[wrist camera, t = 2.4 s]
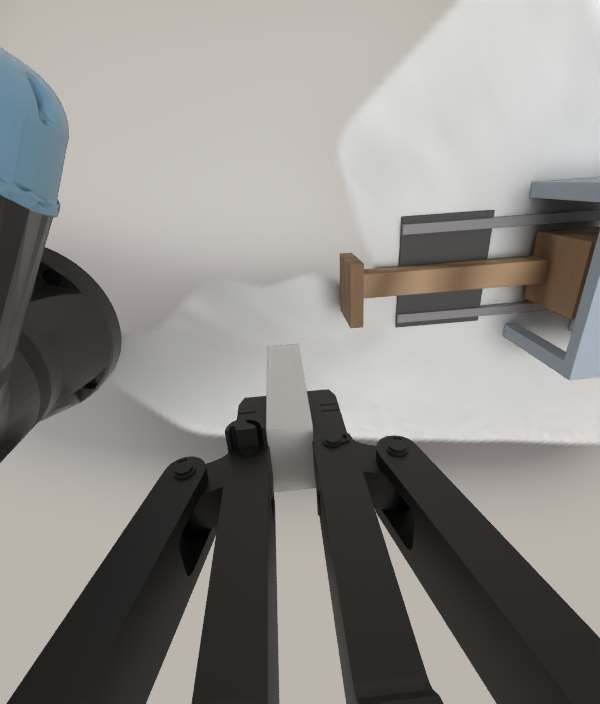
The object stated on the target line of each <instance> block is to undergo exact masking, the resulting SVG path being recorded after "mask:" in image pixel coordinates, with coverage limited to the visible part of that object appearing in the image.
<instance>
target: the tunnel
mask: <svg viewBox="0 0 600 704" xmlns="http://www.w3.org/2000/svg"><path fill="white" fill-rule="evenodd" d="M529 197H530V198H545V199H559V200H573V201H588V202H600V177H595V178H581V179H566V180H552V181H538V182H532V186H531V191H530V196H529ZM592 220H600V209H598V210H585V211H571V212H558V213H544V214H531V215H518V216H504V217H494V218H481V219H468V220H455V221H441V222H428V223H414V224H402V233H401V234H402V235H407V234H421V233H434V232H447V231H460V230H473V229H487V228H500V227H513V226H526V225H540V224H553V223H566V222H579V221H592ZM543 310H549V309H546V308H544V307H542V306H540V305H538V304H536V303H534V302H531V301H530V302H518V303H506V304H495V305H483V306H480V307H468V308H456V309H444V310H433V311H421V312H409V313H396V314H397V322H398V323H403V322H415V321H426V320H438V319H450V318H461V317H473V316H485V315H496V314H508V313H519V312H531V311H543ZM569 331H571V332H572V333H571V336H570V340H569V344H568V347H567V351H566V352H565V351H563V350H561V349H560V348H558V347H556V346H554V345H553V344H551V343H549V342H548V341H546V340H544V339H542V338H541V337H539V336H537V335H536V334H534V333H532V332H530V331H529V330H527V329H525V328H524V327H522V326H520V325H518V324H507V325H505V328H504V333H503V336H504V337H505V338H507V339H508V340H510V341H511V342H513V343H514V344H516V345H517V346H519V347H520V348H522V349H523V350H525V351H526V352H528V353H529V354H531V355H532V356H534V357H535V358H537V359H538V360H540V361H541V362H543V363H544V364H546V365H547V366H549V367H550V368H552V369H553V370H555V371H556V372H558V373H559V374H561V375H562V376H564V377H565V378H567V379H568V380H577V379H587V378H598V377H600V231H599V235H598V239H597V242H596V246H595V250H594V253H593V257H592V260H591V264H590V268H589V271H588V275H587V278H586V282H585V286H584V289H583V293H582V297H581V300H580V304H579V307H578V311H577V315H576V318H575V320H571V322H570V326H569Z"/></svg>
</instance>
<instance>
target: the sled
mask: <svg viewBox="0 0 600 704" xmlns="http://www.w3.org/2000/svg"><path fill="white" fill-rule="evenodd" d="M599 231H600V227H591V228H578V229H565V230H552V231H538V232H537V236H536V241H535V246H534V251H533V255H532V256H529V257H516V258H503V259H491V260H478V261H466V262H453V263H440V264H428V265H415V266H403V267H390V268H378V269H365V270H364V264H363V263H362V262H361V261H360V260H359V259H358V258H357V257H356V256H354V255H353V254H352V253H344V254H340V300H341V312H342V313H343V315H344V317H345V319H346V321H347V322H348V324H349V326H350V328H359V327H363V298H374V297H386V296H398V295H410V294H422V293H434V292H446V291H458V290H470V289H482V288H494V287H507V286H519V285H526V289H525V294H524V298H525V299H527V300H529V301H531V302H534V303H536V304H538V305H540V306H542V307H544V308H546V309H549V310H551V311H553V312H555V313H557V314H559V315H561V316H564V317H566V318H568V319H570V320H575V318H576V315H577V311H578V307H579V304H580V300H581V297H582V293H583V289H584V286H585V282H586V278H587V275H588V271H589V268H590V264H591V260H592V257H593V253H594V250H595V246H596V242H597V239H598V235H599Z"/></svg>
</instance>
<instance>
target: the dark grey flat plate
mask: <svg viewBox="0 0 600 704" xmlns="http://www.w3.org/2000/svg"><path fill="white" fill-rule="evenodd" d="M494 212H495V210H486V211H473V212H459V213H445V214H432V215H418V216H405V217H402V219H401V233H402V224H414V223H428V222H441V221H455V220H468V219H481V218H494ZM491 231H492V228H487V229H473V230H460V231H447V232H434V233H421V234H407V235H402V234H401V238H400V256H399V267H403V266H415V265H428V264H440V263H453V262H466V261H478V260H487V257H488V250H489V244H490V237H491ZM482 289H483V288H482ZM482 289H470V290H458V291H446V292H434V293H422V294H410V295H398V296H397V312H396V313H409V312H421V311H433V310H444V309H456V308H468V307H480V302H481V295H482ZM475 320H478V316H473V317H461V318H450V319H438V320H426V321H415V322H403V323H398V322H397V314H396V327H406V326H418V325H429V324H441V323H452V322H464V321H475Z"/></svg>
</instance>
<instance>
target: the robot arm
mask: <svg viewBox="0 0 600 704" xmlns="http://www.w3.org/2000/svg"><path fill="white" fill-rule="evenodd" d="M68 138H69V129H68V121H67V117H66V114H65V111H64V109H63V106H62V104H61V102H60V100H59V99H58V97H57V96H56V94H55V92H54V91H53V90H52V88H51V87H50V86H49V85H48V84H47V83H46V82H45V81H44V80H43V79H42V78H41V76H40V75H38V74H37V73H36V72H35V71H33V70H32V69H31V68H30V67H28V66H27V65H25V64H24V63H23V62H21V61H20V60H18V59H17V58H15V57H14V56H13V55H11V54H10V53H8V52H7V51H5V50H4V49H2V48H1V47H0V462H1V461H2V460H3V459H4V458H5V457H6V456H7V455H8V454H9V453H10V452H11V451H12V449H14V447H15V446H16V445H17V444H18V443H19V442H20V441H21V440H22V439H23V438H24V437H25V436H26V435H27V433H28V432H29V431H30V430H31V429H32V428H33V427H34V426H35V425H36V424H37V423H38V422H40V421H42V420H44V419H46V418H48V417H50V416H53V415H55V414H57V413H59V412H61V411H63V410H66V409H68V408H70V407H72V406H74V405H76V404H78V403H80V402H82V401H84V400H85V399H87V398H88V397H89V396H91V395H92V394H93V393H94V392H95V391H97V390H98V388H99V387H100V386H101V385H102V384H103V383H104V381H105V380H106V379H107V378H108V377H109V375H110V374H111V373H112V371H113V369H114V368H115V366H116V363H117V361H118V358H119V354H120V349H121V332H120V326H119V322H118V319H117V316H116V313H115V311H114V308H113V306H112V305H111V302H110V301H109V299H108V297H107V296H106V294H105V293H104V291H103V290H102V289H101V287H100V286H99V285H98V284H97V283H96V282H95V281H94V279H93V278H92V277H91V276H90V275H89V274H87V273H86V272H85V271H84V270H83V269H82V268H80V267H79V266H78V265H77V264H75V263H74V262H72V261H71V260H69V259H67V258H66V257H64V256H62V255H60V254H59V253H57V252H55V251H52V250H50V249H48V248H45V244H46V240H47V237H48V233H49V230H50V226H51V223H52V219H53V217H57V216H58V213H59V209H60V203H59V201H58V199H57V197H58V192H59V186H60V181H61V175H62V170H63V164H64V159H65V153H66V148H67V144H68ZM225 435H226V441H227V446H228V454H227V455H225V456H224V457H222V458H221V459H218V460H216V461H213V462H210V463H207V464H205V462H204V461H203V460H202V459H200V458H197V457H185V458H181V459H178V460H176V461H175V462H173V463H171V464H170V465H169V466H168V467H167V468H166V470H165V471H164V472H163V474H162V475H161V477H160V478H159V480H158V481H157V483H156V484H155V485H154V487H153V488H152V490H151V491H150V493H149V494H148V496H147V497H146V499H145V500H144V502H143V503H142V505H141V506H140V508H139V509H138V511H137V512H136V513H135V515H134V516H133V518H132V519H131V521H130V522H129V524H128V525H127V527H126V528H125V530H124V531H123V533H122V534H121V536H120V537H119V539H118V540H117V542H116V543H115V545H114V546H113V547H112V549H111V550H110V552H109V553H108V555H107V556H106V558H105V559H104V561H103V562H102V564H101V565H100V567H99V568H98V570H97V571H96V572H95V574H94V575H93V577H92V578H91V580H90V581H89V583H88V584H87V586H86V587H85V589H84V590H83V592H82V593H81V595H80V596H79V598H78V599H77V601H76V602H75V604H74V605H73V606H72V608H71V609H70V611H69V612H68V614H67V616H66V617H65V618H64V620H63V621H62V623H61V624H60V626H59V627H58V629H57V630H56V631H55V633H54V635H53V636H52V637H51V639H50V641H49V642H48V643H47V645H46V646H45V648H44V649H43V651H42V652H41V654H40V655H39V657H38V658H37V660H36V661H35V662H34V664H33V665H32V667H31V669H30V670H29V671H28V673H27V674H26V676H25V677H24V679H23V680H22V682H21V683H20V685H19V686H18V688H17V689H16V691H15V692H14V693H13V695H12V697H11V698H10V699H9V701H8V702H7V704H146V702H147V700H148V697H149V695H150V692H151V690H152V687H153V685H154V683H155V680H156V678H157V675H158V673H159V671H160V668H161V666H162V663H163V661H164V659H165V656H166V654H167V651H168V649H169V647H170V644H171V642H172V639H173V637H174V635H175V632H176V630H177V627H178V625H179V622H180V620H181V618H182V615H183V613H184V611H185V608H186V606H187V603H188V601H189V598H190V596H191V594H192V591H193V589H194V586H195V584H196V582H197V579H198V577H199V574H200V572H201V569H202V567H203V565H204V562H205V560H206V558H207V555H208V553H209V550H210V548H211V546H212V543H213V541H214V538H215V536H216V541H215V547H214V554H213V561H212V568H211V575H210V581H209V588H208V595H207V602H206V609H205V616H204V623H203V630H202V636H201V643H200V651H199V658H198V664H197V671H196V677H195V684H194V691H193V698H192V704H279V670H278V627H277V626H278V624H277V580H276V579H277V577H276V532H275V500H274V492H280V491H288V490H299V489H309V488H316V490H317V507H318V515H319V516H320V523H321V530H322V537H323V544H324V551H325V558H326V565H327V572H328V579H329V585H330V593H331V600H332V606H333V613H334V621H335V628H336V635H337V642H338V648H339V655H340V662H341V669H342V676H343V683H344V690H345V697H346V703H347V704H443V702H442V700H441V698H440V696H439V695H438V694H437V693H436V692H435V691H434V690H433V689H432V687H431V685H430V683H429V680H428V677H427V675H426V671H425V668H424V665H423V662H422V659H421V655H420V652H419V649H418V646H417V643H416V640H415V636H414V633H413V630H412V627H411V623H410V620H409V617H408V614H407V611H406V607H405V604H404V601H403V598H402V595H401V592H400V589H399V585H398V582H397V579H396V576H395V573H394V569H393V566H392V563H391V560H390V557H389V554H388V551H387V547H386V544H385V541H384V537H383V534H382V531H381V528H380V525H379V522H378V518H377V515H376V513H377V514H378V516H379V517H380V519H381V521H382V522H383V524H384V525H385V527H386V529H387V530H388V532H389V534H390V535H391V537H392V538H393V540H394V541H395V543H396V545H397V546H398V548H399V549H400V551H401V553H402V554H403V556H404V557H405V559H406V560H407V562H408V564H409V565H410V567H411V568H412V570H413V572H414V573H415V575H416V576H417V578H418V579H419V581H420V582H421V584H422V586H423V587H424V589H425V591H426V592H427V594H428V595H429V597H430V598H431V600H432V602H433V603H434V605H435V606H436V608H437V610H438V611H439V613H440V614H441V616H442V617H443V619H444V621H445V622H446V624H447V626H448V627H449V629H450V630H451V632H452V633H453V635H454V636H455V638H456V640H457V641H458V643H459V645H460V646H461V648H462V649H463V651H464V652H465V654H466V656H467V657H468V659H469V660H470V662H471V664H472V665H473V667H474V668H475V670H476V672H477V673H478V674H479V676H480V678H481V679H482V681H483V682H484V684H485V686H486V687H487V689H488V691H489V692H490V694H491V695H492V697H493V698H494V700H495V701H496V703H497V704H600V638H599V637H598V636H597V635H596V634H595V633H594V631H593V630H592V629H591V628H590V627H589V626H588V625H587V624H586V623H585V622H584V621H583V620H582V619H581V618H580V617H579V616H578V615H577V614H576V613H575V612H574V610H573V609H572V608H570V606H569V605H568V604H567V603H566V602H565V601H564V600H563V599H562V598H561V597H560V596H559V595H558V594H557V593H556V591H554V589H553V588H552V587H551V586H550V585H549V584H548V583H547V582H546V581H545V580H544V579H543V578H542V577H541V576H540V575H539V574H538V572H537V571H536V570H535V569H534V568H533V567H532V566H531V565H530V564H529V563H528V562H527V561H526V560H525V559H524V558H523V557H522V556H521V555H520V554H519V552H518V551H516V549H515V548H514V547H513V546H512V545H511V544H510V543H509V542H508V541H507V540H506V539H505V538H504V537H503V536H502V535H501V534H500V532H499V531H498V530H497V529H496V528H495V527H494V526H493V525H492V524H491V523H490V522H489V521H488V520H487V519H486V518H485V517H484V516H483V515H482V514H481V513H480V511H478V509H477V508H475V506H474V505H473V504H472V503H471V502H470V501H469V500H468V499H467V498H466V497H465V496H464V495H463V494H462V493H461V491H460V490H459V489H458V488H457V487H456V486H455V485H454V484H453V483H452V482H451V481H450V480H449V479H448V478H447V477H446V476H445V475H444V474H443V473H442V471H441V470H439V468H438V467H437V466H436V465H435V464H434V463H433V462H432V461H431V460H430V459H429V458H428V457H427V456H426V455H425V454H424V453H423V452H422V450H420V448H419V447H418V446H417V445H416V444H415V443H414V442H412V441H411V440H410V439H407V438H405V437H402V436H387V437H384V438H382V439H380V441H379V442H378V443H377V446H373V445H366V444H361V443H359V442H356V441H355V440H353V439H352V437H351V436H350V434H348V433H347V432H346V428H345V425H344V422H343V418H342V415H341V412H340V409H339V405H338V402H337V399H336V396H335V395H334V394H333V393H332V392H331V391H330V390H329V389H327V390H317V391H307V390H306V384H305V379H304V373H303V367H302V362H301V356H300V350H299V345H298V344H291V345H280V346H268V347H267V396H261V397H250V398H244V400H243V401H242V402H241V403H240V405H239V408H238V415H237V420H236V421H234V422H232V423H231V424H229V425H228V426H227V428H226V430H225ZM374 508H375V509H374ZM375 510H376V512H375Z"/></svg>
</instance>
